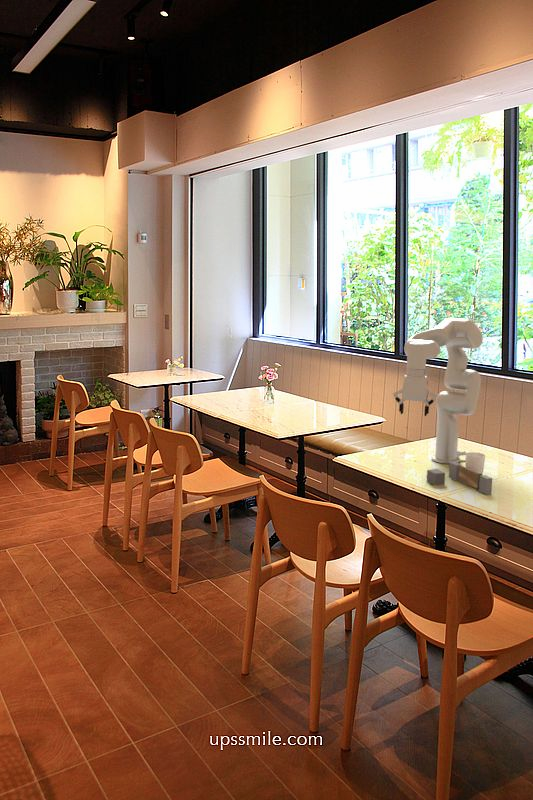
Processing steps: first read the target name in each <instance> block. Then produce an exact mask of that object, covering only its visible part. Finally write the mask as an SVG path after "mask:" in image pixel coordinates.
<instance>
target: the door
mask: <svg viewBox="0 0 533 800" xmlns="http://www.w3.org/2000/svg"><path fill="white" fill-rule="evenodd" d="M481 475H482V474H481V473H478V472H475V471H473V470H471V469H469V468H466V466H464V465H462V466H459V480H458V481H460V482H462V483H465V484H466V485H468V486H470V487H473V488H474V489H477V491H479V482H480V476H481Z"/></svg>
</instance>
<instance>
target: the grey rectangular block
mask: <svg viewBox="0 0 533 800" xmlns="http://www.w3.org/2000/svg"><path fill="white" fill-rule="evenodd" d="M426 482H427V483H430V484H431V485H432V486H435V485H436V486H444V485H445V482H446V472H445V471H443V470H440V469H438V468H432V469H427V471H426Z"/></svg>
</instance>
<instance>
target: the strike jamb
mask: <svg viewBox="0 0 533 800" xmlns="http://www.w3.org/2000/svg"><path fill="white" fill-rule="evenodd" d="M459 466H463V465H462V464H461V463H460V462H458V463H456V462H450V464H449V469H448V478H450V479H452V480H454V481H460V480H459Z"/></svg>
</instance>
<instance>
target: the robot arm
mask: <svg viewBox="0 0 533 800" xmlns="http://www.w3.org/2000/svg"><path fill="white" fill-rule="evenodd" d="M483 340H484V339H483V334H482V331H481V329H480V328H479V327H478V326H477V325H476V324H475V322H473V321H472V320H471V319H468V318H459V317H458V318H457V317H456V318H455V317H448V318H445V319H443V320H442V321H441V322H439V324H438V325H436V326H435V327H433V328H430V329H428V330H427V329H426V330H425V331H424V330H423V331H421V332H417V333H415V334H413V335H412V336H410V337H409V338H408V339H407V340H406V342H405V343H404V347H403V350H404V351H403V352H404V353H405V356H406V374H404V378H403V381H402V387H401V389H399V390H396V391H394V392H393V397H394V399H395V401H396V402H397V403H398V405H399V408H398V411H399V412H400V415H403V413H404V410H405V409H404V408H405V406H404V404H405V403H404V402H405V401H410V402H411V401H412V402H423V403H424V404H425V406H424V415H423V416H424V417H427V415H428V414H429V413H430V406H431V405H432V404H433V403H434V402H435V400H436V402H435V405H436V412H437V413H436V415H437V421H436V439H435V454H434V455H432V456H431V460H432V461H433V462H436V463H440V464H447V465H448V464H449V465H450V462H456V463H460V462H461V456H463V457H464V456H466V453H467V452H466V450H464V451H463V450H462V451H460V450H458V446H459V445H458V444H459V429H460V428H459V427H460V422H459V418H458V417H457V415H462V416H472V415H473V414H474V413H475V411H476V409H477V405H478V399H479V394H480V390H481V385H482V384H481V383H482V378H481V377H482V376H481V374H480V373H479V371H477V370H474V369H468V368H467V367H468V362H469V359H468V356H467V354H466V352H465V350H464V349H474V350H475V349H479V348H480V347H481V346H482V344H483ZM444 346H445V348H446V351H447V354H448V356H447V357H448V359H447V365H446V369H445V373H444V380H443V384H444V386H445V387H446V388H447V389H450V390H457V391H463V392H457V391H447V390H445V391H444V390H443V391H441V392H439V393H438V394H437V395H436V394H435V393H433V392H432V391H430V390H429V380H428V379H429V378H428V376H427V375H429V374H430V370H427V368H426V367H427V360H433V359H436V358H437V357H438V356H439V355H440V352H441V348H442V347H444ZM464 391H465V392H466V393H465V392H464ZM400 394H401V398H400V397H399V396H398V395H400ZM429 396H430V397H431V399H430V400H428V398H429Z"/></svg>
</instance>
